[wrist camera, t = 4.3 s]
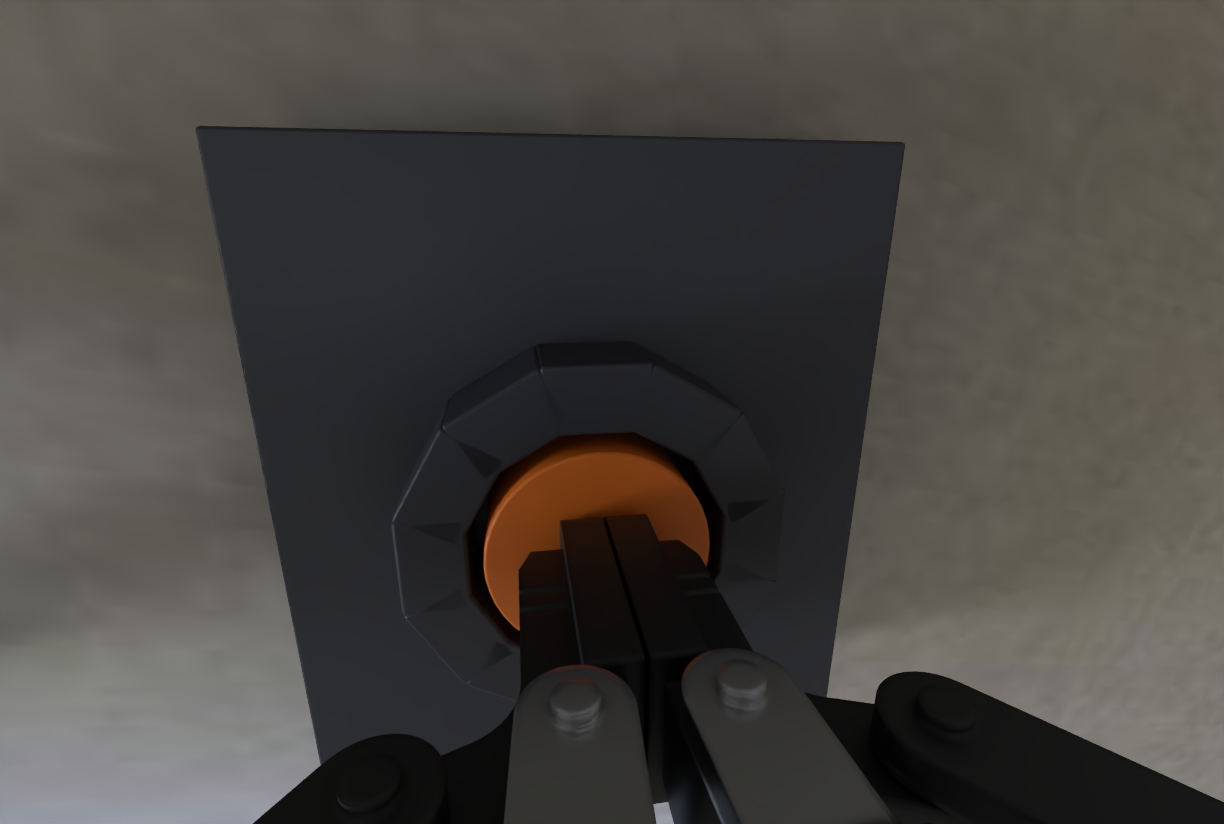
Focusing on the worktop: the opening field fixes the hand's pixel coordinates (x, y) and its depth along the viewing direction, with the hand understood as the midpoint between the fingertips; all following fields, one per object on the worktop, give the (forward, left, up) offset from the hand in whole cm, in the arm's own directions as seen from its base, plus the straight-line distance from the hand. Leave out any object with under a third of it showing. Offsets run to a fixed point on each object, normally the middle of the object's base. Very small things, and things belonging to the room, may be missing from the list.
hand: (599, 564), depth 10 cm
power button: (0, 0, -2) cm, 2 cm away
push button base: (0, 0, -5) cm, 5 cm away
